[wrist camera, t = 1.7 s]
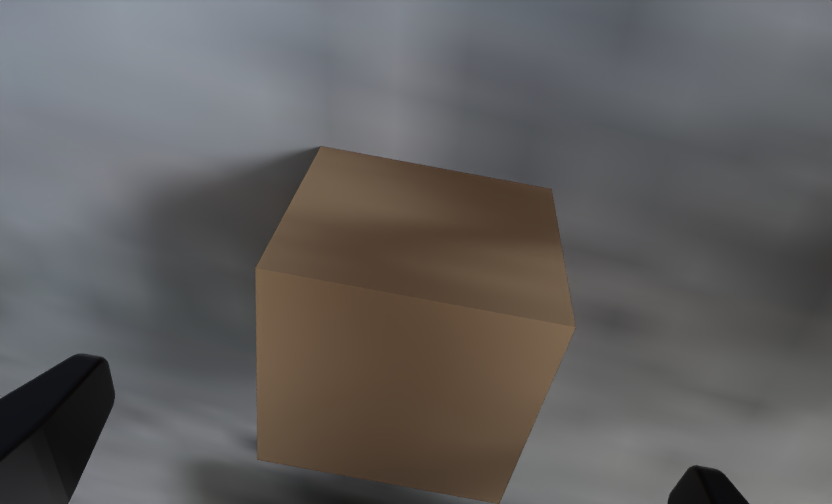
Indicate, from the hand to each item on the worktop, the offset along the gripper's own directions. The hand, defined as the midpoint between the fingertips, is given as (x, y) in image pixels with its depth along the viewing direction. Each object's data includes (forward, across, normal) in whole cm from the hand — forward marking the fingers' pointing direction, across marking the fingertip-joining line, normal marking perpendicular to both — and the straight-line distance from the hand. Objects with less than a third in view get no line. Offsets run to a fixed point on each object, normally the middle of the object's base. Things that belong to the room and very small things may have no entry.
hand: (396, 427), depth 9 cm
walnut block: (+4, 0, 0) cm, 5 cm away
